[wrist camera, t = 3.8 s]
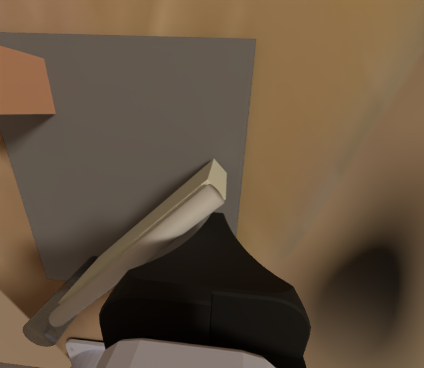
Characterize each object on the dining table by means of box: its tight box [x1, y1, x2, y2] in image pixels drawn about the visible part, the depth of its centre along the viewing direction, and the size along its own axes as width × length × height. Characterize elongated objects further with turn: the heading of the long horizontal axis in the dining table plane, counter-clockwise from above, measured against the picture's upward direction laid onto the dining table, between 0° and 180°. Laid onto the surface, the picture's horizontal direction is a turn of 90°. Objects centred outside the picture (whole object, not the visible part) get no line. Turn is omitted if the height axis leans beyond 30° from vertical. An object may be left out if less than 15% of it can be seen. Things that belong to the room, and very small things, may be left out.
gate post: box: [23, 256, 99, 346], centre depth 14 cm, size 2×2×6 cm
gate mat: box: [0, 32, 256, 286], centre depth 14 cm, size 18×16×1 cm
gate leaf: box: [49, 159, 227, 327], centre depth 12 cm, size 12×1×5 cm, turn 132°
